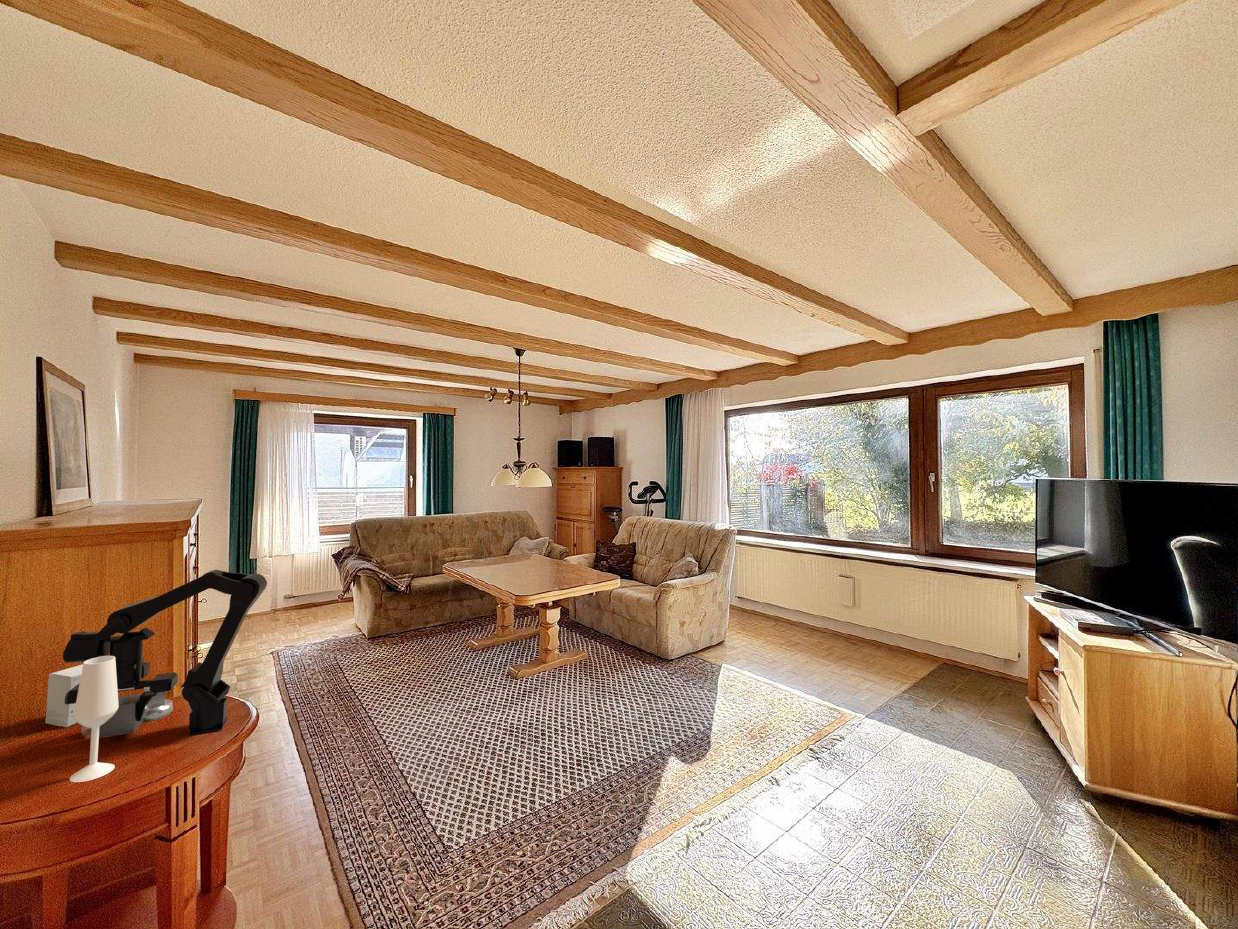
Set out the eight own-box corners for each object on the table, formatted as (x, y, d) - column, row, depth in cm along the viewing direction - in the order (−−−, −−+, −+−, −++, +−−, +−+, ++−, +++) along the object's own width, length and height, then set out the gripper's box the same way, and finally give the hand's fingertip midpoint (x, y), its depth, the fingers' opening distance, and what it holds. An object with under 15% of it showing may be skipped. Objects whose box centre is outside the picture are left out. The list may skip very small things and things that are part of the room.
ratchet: (79, 731, 121) (81, 705, 121) (167, 706, 135) (168, 682, 135) (87, 740, 118) (89, 713, 118) (176, 713, 132) (177, 689, 132)
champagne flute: (113, 759, 111) (119, 652, 111) (116, 772, 106) (123, 660, 107) (68, 773, 105) (75, 659, 106) (70, 786, 101) (77, 668, 102)
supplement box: (66, 728, 123) (69, 677, 123) (44, 724, 124) (47, 673, 124) (102, 714, 130) (105, 666, 130) (81, 710, 131) (84, 662, 132)
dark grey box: (143, 721, 123) (144, 693, 124) (133, 732, 118) (135, 703, 118) (110, 726, 121) (112, 697, 121) (99, 738, 115) (101, 708, 116)
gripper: (186, 642, 131) (182, 701, 131) (88, 652, 123) (84, 715, 122) (172, 657, 121) (168, 721, 121) (65, 668, 113) (61, 737, 112)
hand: (122, 723), depth 119 cm, fingers closed on dark grey box, 6 cm apart
